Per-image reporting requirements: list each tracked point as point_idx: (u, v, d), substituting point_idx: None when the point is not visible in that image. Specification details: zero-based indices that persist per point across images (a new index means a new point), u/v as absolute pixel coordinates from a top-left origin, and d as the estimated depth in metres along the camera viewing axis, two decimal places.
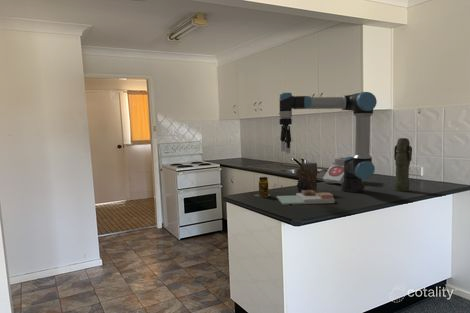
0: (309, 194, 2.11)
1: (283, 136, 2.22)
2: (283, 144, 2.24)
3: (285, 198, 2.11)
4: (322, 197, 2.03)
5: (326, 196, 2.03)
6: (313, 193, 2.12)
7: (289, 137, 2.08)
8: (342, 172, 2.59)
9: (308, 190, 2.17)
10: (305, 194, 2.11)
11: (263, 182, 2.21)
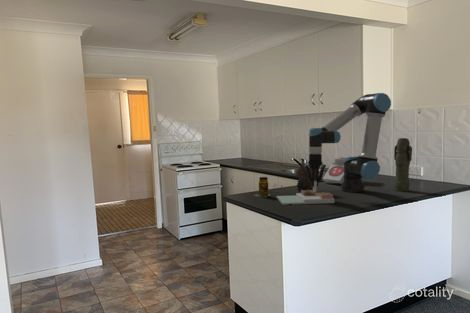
0: (309, 194, 2.11)
1: (316, 173, 2.14)
2: None
3: (285, 198, 2.11)
4: (322, 197, 2.03)
5: (326, 196, 2.03)
6: (313, 193, 2.12)
7: (308, 176, 2.13)
8: (342, 172, 2.59)
9: (308, 190, 2.17)
10: (305, 194, 2.11)
11: (263, 182, 2.21)
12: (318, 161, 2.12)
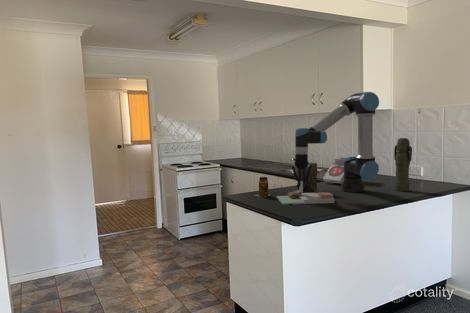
0: (295, 196, 2.11)
1: (302, 174, 2.14)
2: None
3: (285, 198, 2.11)
4: (322, 197, 2.03)
5: (326, 196, 2.03)
6: (299, 193, 2.11)
7: (294, 176, 2.13)
8: (342, 172, 2.59)
9: (294, 191, 2.16)
10: (291, 197, 2.11)
11: (263, 182, 2.21)
12: (304, 161, 2.12)
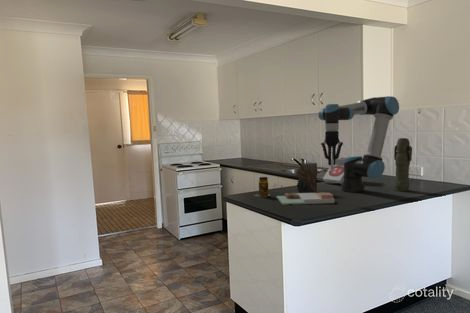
0: (292, 197, 2.11)
1: (332, 152, 2.06)
2: None
3: (285, 198, 2.11)
4: (322, 197, 2.03)
5: (326, 196, 2.03)
6: (296, 196, 2.11)
7: (325, 155, 2.06)
8: (342, 172, 2.59)
9: (291, 193, 2.16)
10: (288, 197, 2.10)
11: (263, 182, 2.21)
12: (335, 138, 2.04)
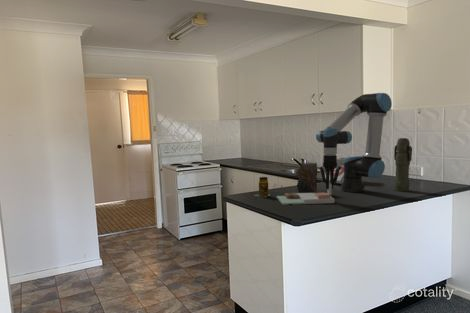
0: (292, 197, 2.11)
1: (330, 175, 2.06)
2: None
3: (285, 198, 2.11)
4: (319, 197, 2.03)
5: (323, 196, 2.03)
6: (296, 196, 2.11)
7: (323, 178, 2.05)
8: (342, 172, 2.59)
9: (291, 193, 2.16)
10: (288, 197, 2.10)
11: (263, 182, 2.21)
12: (333, 163, 2.04)
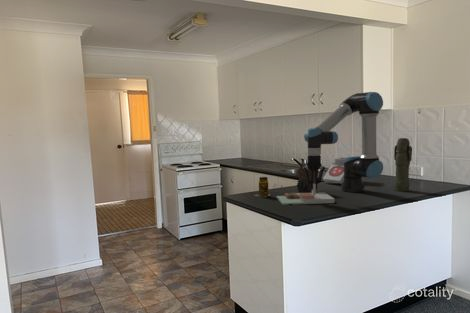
0: (292, 197, 2.11)
1: (314, 176, 2.05)
2: None
3: (285, 198, 2.11)
4: (303, 198, 2.02)
5: (307, 197, 2.02)
6: (296, 196, 2.11)
7: (307, 179, 2.04)
8: (342, 172, 2.59)
9: (291, 193, 2.16)
10: (288, 197, 2.10)
11: (263, 182, 2.21)
12: (317, 163, 2.03)
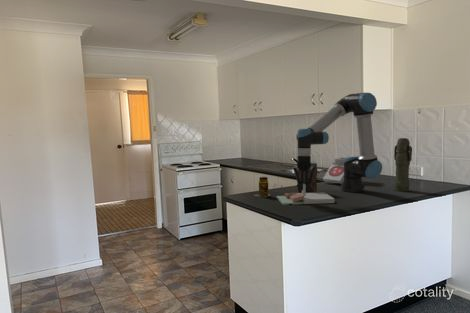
0: None
1: (304, 176, 2.05)
2: None
3: (285, 198, 2.11)
4: (293, 200, 2.01)
5: (297, 198, 2.02)
6: None
7: (297, 179, 2.04)
8: (342, 172, 2.59)
9: (291, 193, 2.16)
10: (288, 197, 2.10)
11: (263, 182, 2.21)
12: (307, 163, 2.03)
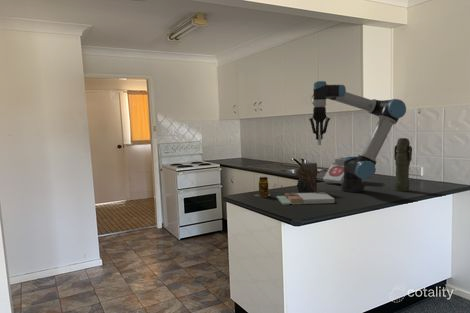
0: None
1: (320, 127, 2.18)
2: None
3: (285, 198, 2.11)
4: (291, 201, 2.01)
5: (295, 200, 2.02)
6: None
7: (313, 129, 2.17)
8: (342, 172, 2.59)
9: (291, 193, 2.16)
10: None
11: (263, 182, 2.21)
12: (322, 114, 2.16)
